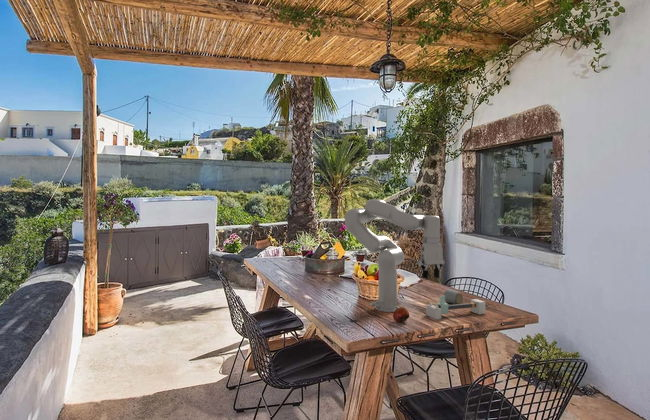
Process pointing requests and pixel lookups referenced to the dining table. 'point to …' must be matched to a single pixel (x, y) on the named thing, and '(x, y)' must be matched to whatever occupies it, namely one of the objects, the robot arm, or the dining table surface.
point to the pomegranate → (400, 314)
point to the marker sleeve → (443, 305)
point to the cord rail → (475, 306)
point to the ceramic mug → (453, 296)
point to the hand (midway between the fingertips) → (430, 277)
